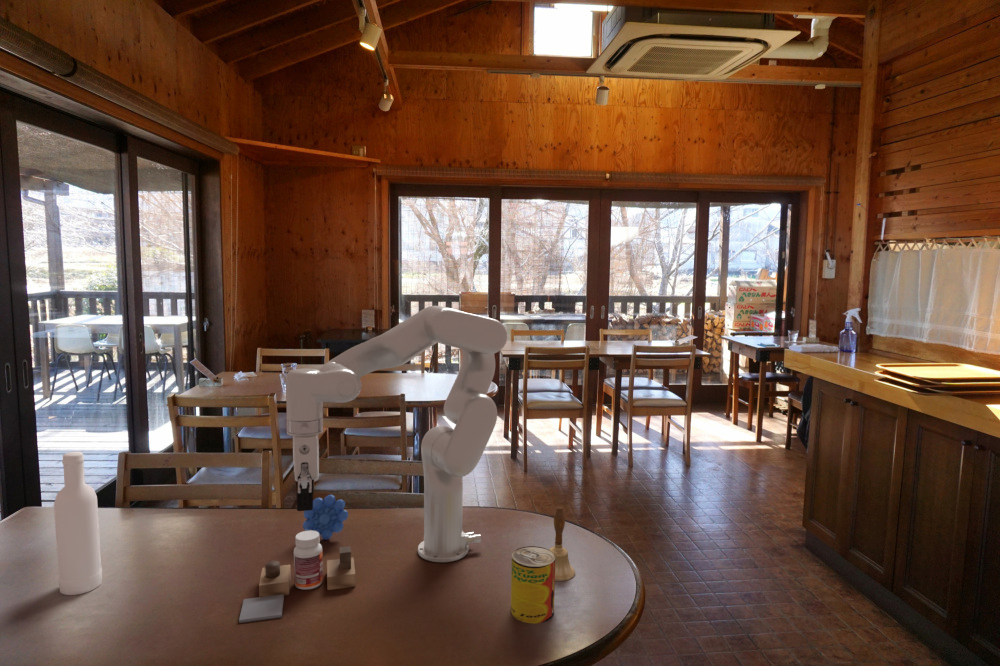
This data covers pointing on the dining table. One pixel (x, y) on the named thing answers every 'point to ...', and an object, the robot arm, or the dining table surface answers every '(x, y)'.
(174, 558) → the dining table surface
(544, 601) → the beverage can
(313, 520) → the blue flower
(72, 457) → the bottle
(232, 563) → the dining table surface
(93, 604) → the dining table surface
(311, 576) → the pill bottle
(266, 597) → the coaster
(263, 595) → the wooden knob block
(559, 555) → the hand bell
